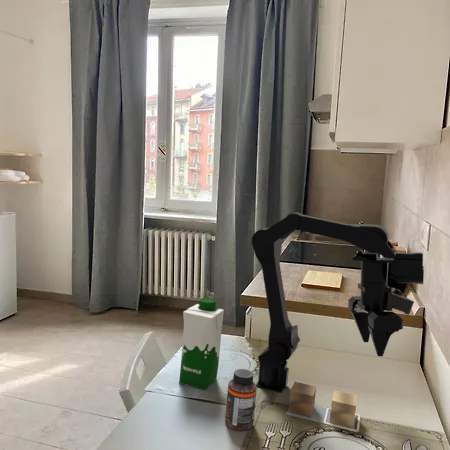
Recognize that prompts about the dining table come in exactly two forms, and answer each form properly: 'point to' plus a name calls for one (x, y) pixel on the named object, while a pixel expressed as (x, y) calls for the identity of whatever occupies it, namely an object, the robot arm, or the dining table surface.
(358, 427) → the outline
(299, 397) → the walnut block
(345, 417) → the oak block
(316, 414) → the mat
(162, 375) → the dining table surface
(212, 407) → the dining table surface
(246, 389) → the supplement bottle
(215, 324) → the milk carton
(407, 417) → the dining table surface
